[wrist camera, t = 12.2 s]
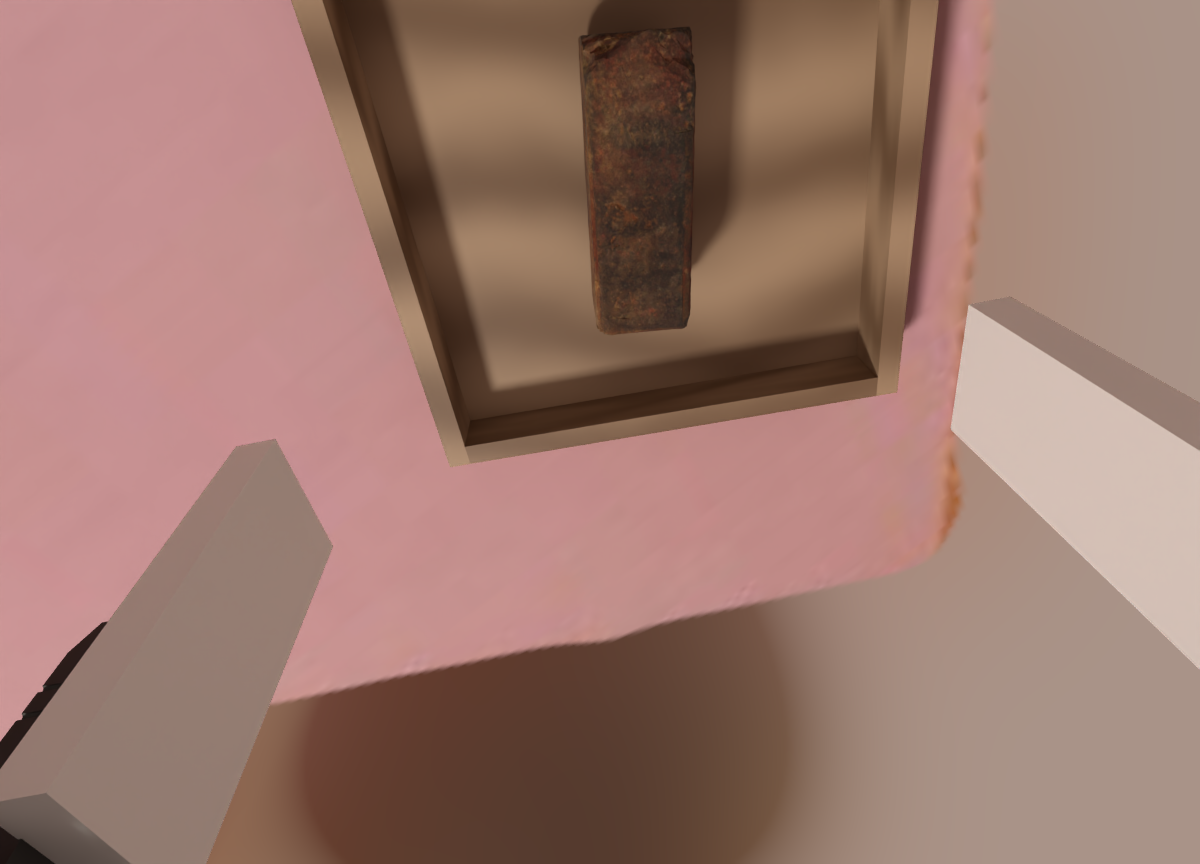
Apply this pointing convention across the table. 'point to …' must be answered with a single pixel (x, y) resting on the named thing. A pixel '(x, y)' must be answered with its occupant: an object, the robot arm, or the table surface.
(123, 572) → the table surface
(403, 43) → the tray
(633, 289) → the brick
